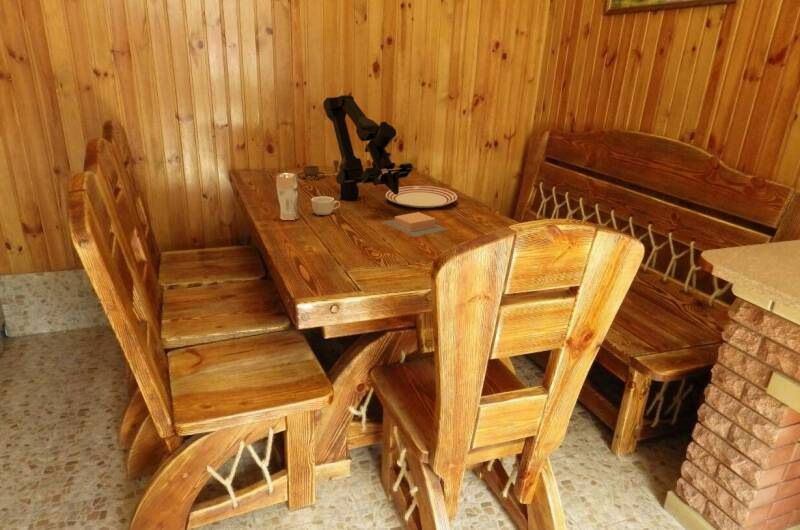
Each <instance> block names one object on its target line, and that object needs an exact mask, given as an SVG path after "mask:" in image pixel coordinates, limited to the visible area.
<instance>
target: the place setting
mask: <svg viewBox="0 0 800 530" xmlns="http://www.w3.org/2000/svg"><path fill="white" fill-rule="evenodd" d="M339 166H340V161H339V160H333V167H335V169H334V171H335V172H337V173H338V168H339ZM300 174H305V175H302V176H300ZM318 174H323V175H322V176H321V175H318ZM325 175H326V174H325V172H323V171H320V167H319V166H317V165H305V166H303V171H302V172H299V173H297V177H298V176H299V177H302V178H321V177H323V178H325ZM307 176H310V177H307ZM313 176H316V177H313ZM299 177H298V178H299ZM321 179H322V178H321Z"/></svg>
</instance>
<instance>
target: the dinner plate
mask: <svg viewBox="0 0 800 530" xmlns="http://www.w3.org/2000/svg"><path fill="white" fill-rule="evenodd" d="M385 198H386V199H387V201H388V200H389V201H390V202H392V203H394V204H398V205H400V206H403V207H408V208H412V209H413V208H414V209H432V208H433V209H434V208H436V207H437V208H439V207H440V208H441V207H443V206H448V205H449V204H451V203H454V202H455V201H457V199H458V195H457V194H456V192H454V191H452V190H449V189H446V188H442V187H437V186H430V185H428V186H427V185H410V186H409V185H407V186H401V187H400V186H399V193H398V194H397V195H395V194H394V193H393V192H392V191H391V190H390V189H389V190H388V191H387V192H386V193H385Z"/></svg>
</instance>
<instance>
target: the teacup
mask: <svg viewBox="0 0 800 530" xmlns="http://www.w3.org/2000/svg"><path fill="white" fill-rule="evenodd" d="M310 201H311V207H312V211H313V212H314V214H315V215H317V216H319V215H324V216H328V215H331V214H332V213H333V211H334V210H336V209H338V208H340V206H341V203H340V201H339V200H335V198H334V197H331V196H327V195H326V196H324V195H323V196H315V197H312V198H311V200H310ZM337 203H338V206H335V204H337Z"/></svg>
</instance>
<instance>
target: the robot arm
mask: <svg viewBox="0 0 800 530" xmlns="http://www.w3.org/2000/svg"><path fill="white" fill-rule="evenodd" d="M354 98H355V97H353V95H350V94H348V95H347V94H344V95H342V94H341V95H340V96H337V97H336V96H334V97H333V96H330V97H326V98H325V100H324V101H323V103H322V104H323V105H322V106H323V110H324V112H325V114H326V117H327V118H328V119H329V120H330V122H332V125H333V128H334V134H335V137H336V141H337V145H338V150H339V152H340V157H341V160H340V162H339V166H338V168H339V171H338V172H337V175H336V177H335V178H336V179H335V180H336V183H337V184H340V197H339V200H341V201H342V200H343V201H357V200H358V199H359V197H360V196H361V195H360V185H359V184H360V183H362V184H369V183H372V184H373V186H377V185H381V186H382V185H385V186H386V188H388V189H389V191H390V190H391V191H392V192H393V193H394V194H395V195H397V194H398V193H399V187H400V186H399V183H400V182H399V181H400V179H406V178H408V176H409V175H410V174H411V173H412V171H413V170H415V169H414V166H413V164H412V163H411V162H405V163H401V164H400V165H399V166H398V167H397V168H395V167H396V163H395V162H392V159H391V158H390V157H391V155H392V154H391V152H388V151H387V148H388V147H389V145H390V144H391V143H392V141H394V138H395V137H396V136H397V129H395V128H394V127H393V126H392V125H390V124H389V123H388V122H387V121H381V122H380V123H379V124H378V123H377V122H375V120H373V119H370V118H368V117H367V115H365V113H364V111H362V109H361V108H360V107H359V105H358V104H357V102H356V101H355V100H354ZM346 117H348V118H349V119H350V120H351V122H352V123H353V124H354V126H355V127H356V128H355V133H356V134H357V137H358V138H359V140H360V141H361V142H368V141H369V142H368V143H366V145H365V148H364V152H365V153H369V155H370V158H371V160H372V162H371V167H367V168H365V169H364V167H363V164H362V160H361V158H360V157H356V155H355V153H354V149H353V144H352V141H351V137H350V132H349V130H348V129H349V128H348V124H347V121H346Z"/></svg>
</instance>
